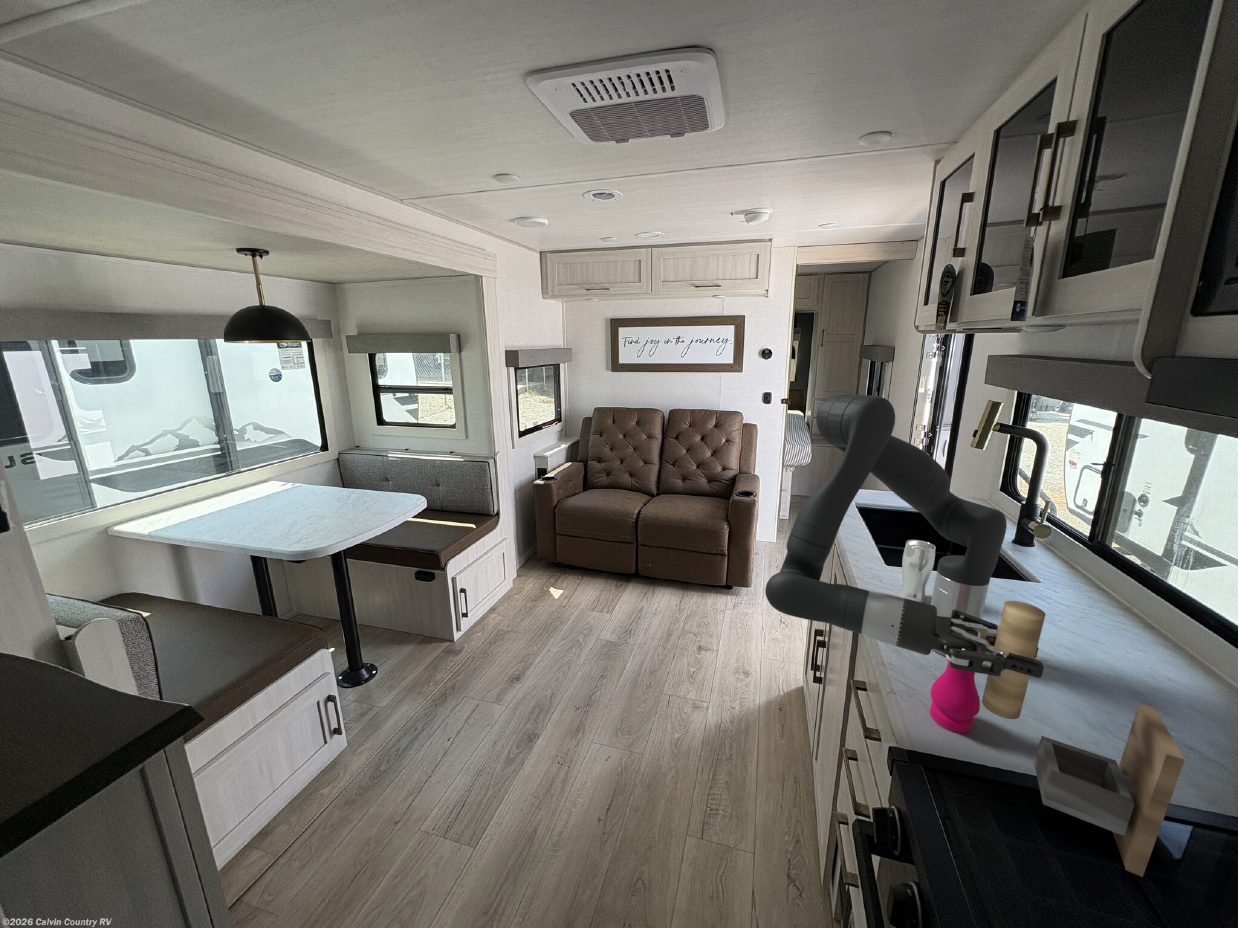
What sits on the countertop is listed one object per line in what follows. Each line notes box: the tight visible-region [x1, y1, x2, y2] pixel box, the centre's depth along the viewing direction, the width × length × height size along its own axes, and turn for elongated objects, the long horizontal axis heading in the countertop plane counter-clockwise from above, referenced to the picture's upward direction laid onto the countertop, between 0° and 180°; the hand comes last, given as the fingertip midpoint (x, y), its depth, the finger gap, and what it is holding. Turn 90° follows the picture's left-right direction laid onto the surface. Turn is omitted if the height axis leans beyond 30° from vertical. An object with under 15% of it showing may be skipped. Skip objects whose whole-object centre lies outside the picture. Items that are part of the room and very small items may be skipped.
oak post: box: [981, 600, 1046, 720], centre depth 69 cm, size 4×4×16 cm
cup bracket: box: [1033, 703, 1186, 878], centre depth 66 cm, size 10×10×18 cm
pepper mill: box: [929, 639, 986, 734], centre depth 84 cm, size 7×7×20 cm
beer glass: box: [898, 539, 937, 603], centre depth 127 cm, size 7×7×15 cm
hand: (1038, 660), depth 67 cm, fingers closed on oak post, 4 cm apart
